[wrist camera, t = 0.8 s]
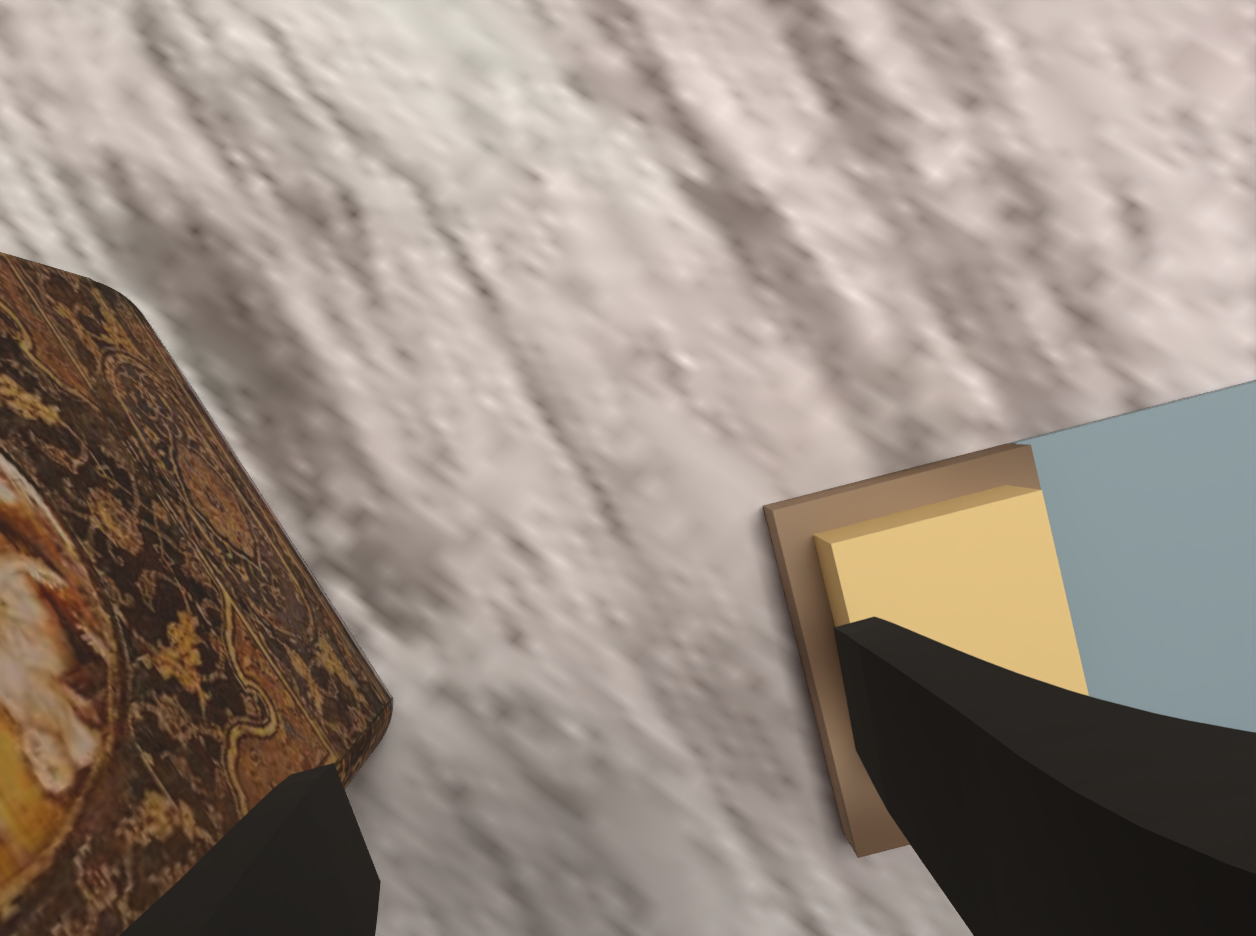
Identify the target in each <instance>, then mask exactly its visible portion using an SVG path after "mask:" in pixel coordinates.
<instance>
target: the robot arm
mask: <svg viewBox="0 0 1256 936" xmlns="http://www.w3.org/2000/svg"><path fill="white" fill-rule="evenodd" d="M834 634H835V639H836V645H837V650H838V656H839V661H840V667H841V672H842V678H843V683H844V689H845V694H846V700H847V705H848V711H849V716H850V722H851V727H852V733H853V738H854V744H855V750H856V752H857V754H858V755H859V757H860V759H861V761H862V763H863V765H864V767H865V769H866V771H867V773H868V775H869V777H870V779H871V781H872V783H873V785H874V787H875V789H876V790H877V792H878V794H879V796H880V798H881V800H882V802H883V803H884V805H885V807H886V809H887V811H888V812H889V814H890V815H891V817H892V818H893V820H894V821H895V823H896V824H897V826H898V827H899V829H900V830H901V832H902V833H903V834H904V836H905V837H906V839H907V840H908V842H909V843H910V845H911V846H912V848H913V849H914V850H915V852H916V853H917V855H918V856H919V858H920V859H921V861H922V862H923V863H924V865H925V866H926V868H927V869H928V871H929V872H930V873H931V875H932V876H933V878H934V879H935V881H936V882H937V883H938V885H939V886H940V888H941V889H942V891H943V892H944V894H945V895H946V896H947V898H948V899H949V901H950V902H951V904H952V905H953V906H954V908H955V909H956V911H957V912H958V914H959V915H960V916H961V918H962V919H963V921H964V922H965V924H966V925H967V926H968V928H969V929H970V931H971V932H972V934H973V935H974V936H1256V732H1250V731H1244V730H1239V729H1233V728H1228V727H1222V726H1217V725H1211V724H1206V723H1200V722H1195V721H1189V720H1184V719H1180V718H1175V717H1170V716H1166V715H1161V714H1157V713H1152V712H1148V711H1144V710H1140V709H1137V708H1133V707H1129V706H1125V705H1121V704H1117V703H1113V702H1109V701H1105V700H1101V699H1098V698H1094V697H1090V696H1087V695H1084V694H1080V693H1077V692H1073V691H1070V690H1067V689H1064V688H1061V687H1058V686H1055V685H1052V684H1049V683H1046V682H1043V681H1040V680H1037V679H1034V678H1031V677H1028V676H1025V675H1022V674H1019V673H1016V672H1014V671H1011V670H1008V669H1005V668H1003V667H1000V666H997V665H995V664H992V663H990V662H987V661H984V660H982V659H979V658H977V657H974V656H972V655H969V654H967V653H964V652H962V651H959V650H957V649H954V648H952V647H949V646H947V645H945V644H942V643H940V642H937V641H935V640H933V639H930V638H928V637H926V636H923V635H921V634H918V633H916V632H914V631H911V630H909V629H906V628H904V627H902V626H899V625H897V624H894V623H892V622H889V621H886V620H884V619H881V618H878V617H875V616H874V617H871V618H867V619H863V620H860V621H856V622H852V623H848V624H845V625H841V626H837V627H834ZM379 892H380V880H379V877H378V874H377V872H376V869H375V867H374V864H373V862H372V859H371V857H370V854H369V851H368V849H367V846H366V844H365V841H364V839H363V836H362V833H361V831H360V828H359V826H358V823H357V821H356V818H355V816H354V813H353V810H352V808H351V805H350V803H349V800H348V798H347V795H346V792H345V790H344V787H343V785H342V782H341V780H340V777H339V775H338V772H337V769H336V767H335V764H334V763H331V764H327V765H324V766H320V767H316V768H313V769H309V770H305V771H302V772H298V773H294V774H291V775H289V776H288V777H287V778H286V779H284V780H283V781H282V782H281V783H279V784H278V785H277V786H276V787H275V788H274V789H272V790H271V791H270V792H269V793H268V794H267V795H266V796H265V797H264V798H263V799H262V800H261V801H259V802H258V803H257V804H256V805H255V806H254V807H253V808H252V809H251V810H250V811H249V812H248V813H247V814H246V815H245V816H244V817H243V818H242V819H241V820H240V821H239V822H238V823H237V824H236V825H235V826H234V827H233V828H232V829H231V830H230V831H229V832H228V833H227V834H226V835H225V836H224V837H223V838H222V839H220V840H219V841H218V842H217V843H216V844H215V845H214V846H213V847H212V848H211V849H210V850H209V851H208V852H207V853H206V854H205V855H204V856H203V857H202V858H201V859H200V860H199V861H198V862H197V863H196V864H195V865H194V866H193V867H192V868H191V869H190V870H189V871H188V872H187V873H186V874H185V875H184V876H183V877H182V878H181V879H180V880H179V881H178V882H177V883H175V884H174V885H173V886H172V887H171V888H170V889H169V890H168V891H167V892H166V893H165V894H164V895H163V896H162V897H160V898H159V899H158V900H157V901H156V902H155V903H154V904H153V905H152V906H151V907H150V908H148V909H147V910H146V911H145V912H144V913H143V914H142V915H141V916H140V917H139V918H138V919H137V920H135V921H134V922H133V923H132V924H131V925H130V926H129V927H128V928H127V929H126V930H125V931H124V932H122V933H121V934H120V935H119V936H375V931H376V923H377V913H378V902H379Z"/></svg>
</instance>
